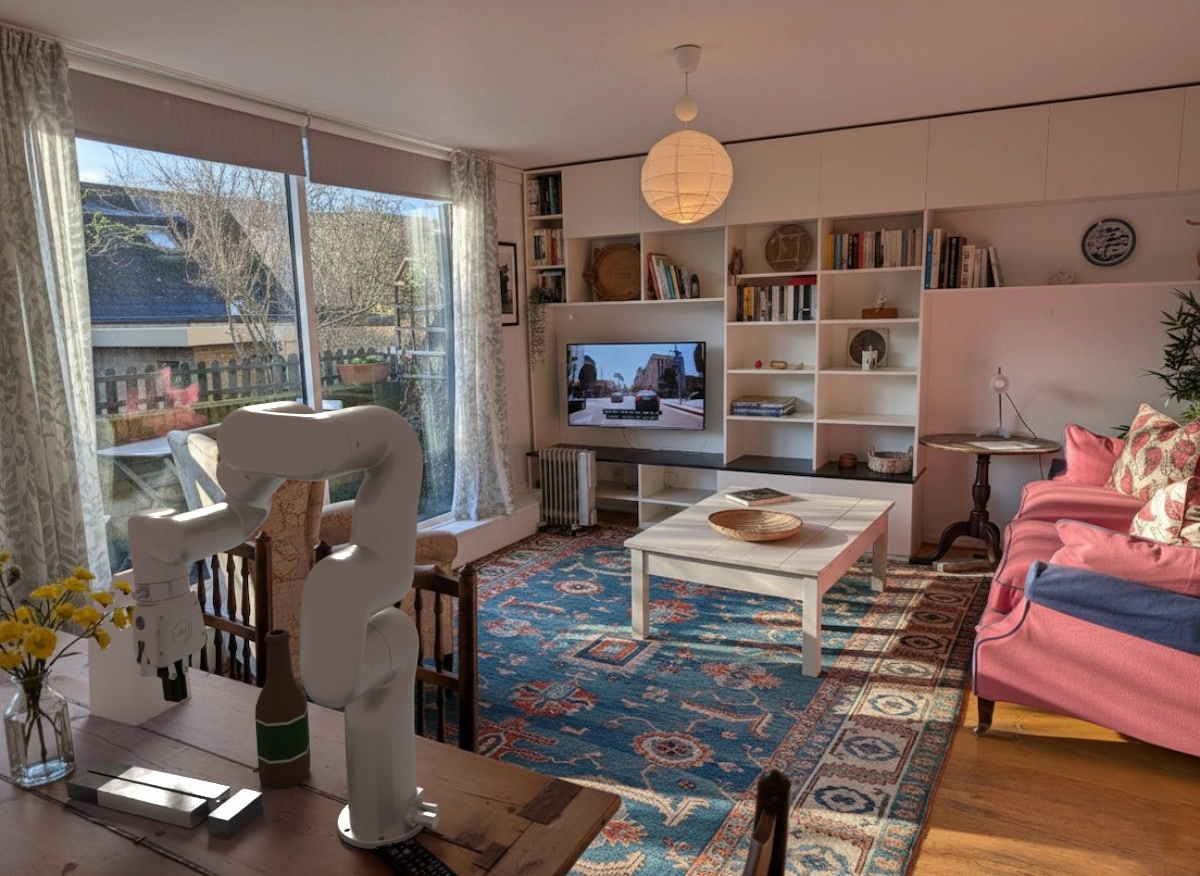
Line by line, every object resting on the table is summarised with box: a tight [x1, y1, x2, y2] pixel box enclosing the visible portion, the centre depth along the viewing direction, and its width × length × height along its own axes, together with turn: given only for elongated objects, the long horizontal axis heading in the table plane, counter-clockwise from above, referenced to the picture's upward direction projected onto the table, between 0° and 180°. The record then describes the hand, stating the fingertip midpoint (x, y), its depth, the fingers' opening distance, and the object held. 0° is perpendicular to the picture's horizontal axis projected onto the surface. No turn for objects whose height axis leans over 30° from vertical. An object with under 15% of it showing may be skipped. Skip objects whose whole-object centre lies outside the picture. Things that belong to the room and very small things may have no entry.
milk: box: [87, 568, 193, 727], centre depth 150 cm, size 12×12×26 cm
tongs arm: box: [86, 759, 231, 815], centre depth 123 cm, size 26×5×2 cm, turn 73°
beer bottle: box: [254, 628, 311, 791], centre depth 127 cm, size 8×8×24 cm
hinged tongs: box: [66, 771, 264, 841], centre depth 121 cm, size 30×7×3 cm, turn 72°
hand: (176, 699), depth 130 cm, fingers closed
